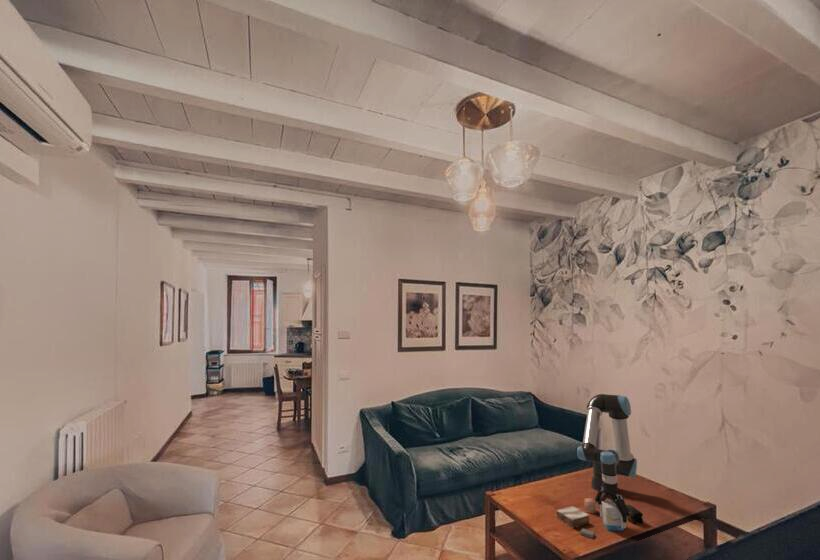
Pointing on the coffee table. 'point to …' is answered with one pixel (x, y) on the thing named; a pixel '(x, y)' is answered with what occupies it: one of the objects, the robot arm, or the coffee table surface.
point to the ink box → (611, 516)
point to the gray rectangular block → (587, 533)
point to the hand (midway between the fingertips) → (612, 522)
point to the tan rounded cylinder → (590, 505)
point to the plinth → (573, 516)
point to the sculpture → (634, 514)
